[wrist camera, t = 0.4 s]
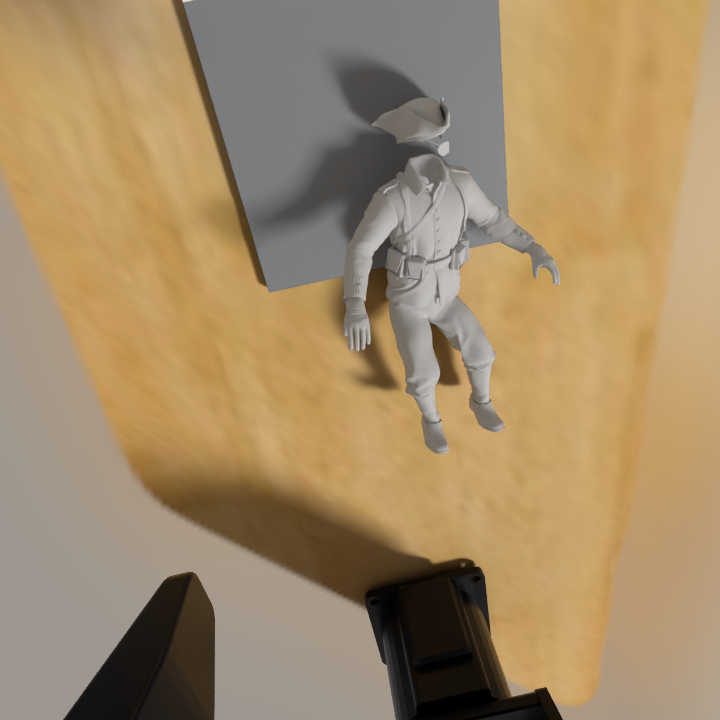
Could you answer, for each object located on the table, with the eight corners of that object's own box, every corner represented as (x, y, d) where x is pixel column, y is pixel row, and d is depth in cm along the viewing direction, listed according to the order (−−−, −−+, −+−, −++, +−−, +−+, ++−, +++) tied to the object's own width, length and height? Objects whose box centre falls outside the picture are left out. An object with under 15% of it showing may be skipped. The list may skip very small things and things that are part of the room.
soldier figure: (367, 488, 20) (345, 174, 12) (321, 402, 23) (279, 112, 15) (541, 418, 22) (621, 110, 14) (476, 348, 26) (510, 67, 17)
